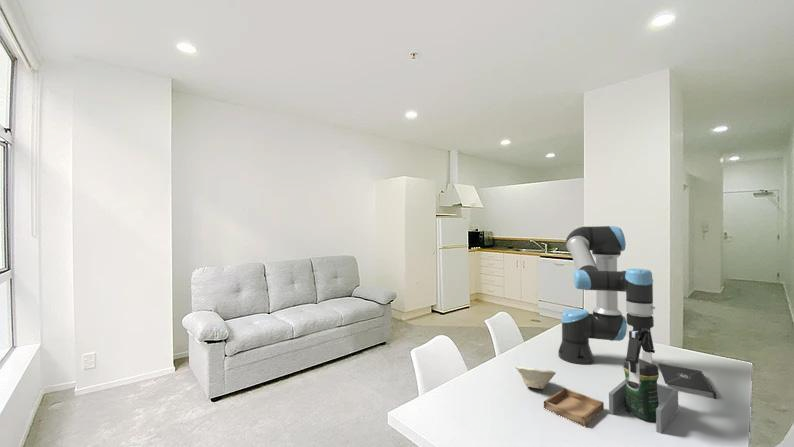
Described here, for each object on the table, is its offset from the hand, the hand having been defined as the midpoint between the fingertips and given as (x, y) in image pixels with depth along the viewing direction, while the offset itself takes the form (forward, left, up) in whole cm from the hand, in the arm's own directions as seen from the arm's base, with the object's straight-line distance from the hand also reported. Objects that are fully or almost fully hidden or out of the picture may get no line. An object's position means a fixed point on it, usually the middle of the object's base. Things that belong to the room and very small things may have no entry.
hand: (641, 376), depth 113 cm
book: (+4, +41, -14) cm, 43 cm away
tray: (-16, -15, -13) cm, 25 cm away
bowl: (-33, -10, -13) cm, 37 cm away
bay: (0, +2, -13) cm, 13 cm away
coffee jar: (0, 0, -13) cm, 13 cm away
